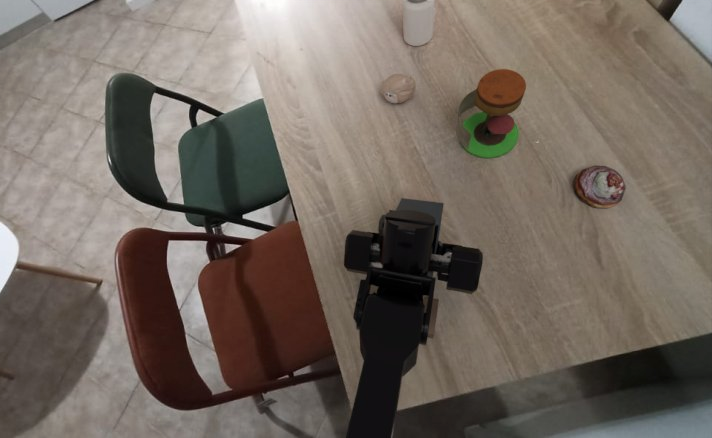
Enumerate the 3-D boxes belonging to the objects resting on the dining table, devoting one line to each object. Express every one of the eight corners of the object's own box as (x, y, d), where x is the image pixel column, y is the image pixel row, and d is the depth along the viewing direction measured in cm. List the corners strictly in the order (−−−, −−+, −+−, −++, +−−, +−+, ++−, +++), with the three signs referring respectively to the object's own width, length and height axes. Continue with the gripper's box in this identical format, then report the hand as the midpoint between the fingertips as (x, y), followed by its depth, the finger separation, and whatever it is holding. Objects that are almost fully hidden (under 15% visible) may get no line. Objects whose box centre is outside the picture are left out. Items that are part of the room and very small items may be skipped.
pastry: (621, 212, 74) (635, 200, 70) (570, 205, 77) (579, 193, 73) (624, 171, 77) (637, 157, 72) (574, 166, 80) (583, 151, 75)
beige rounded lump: (392, 114, 95) (391, 90, 88) (377, 95, 98) (374, 70, 91) (420, 98, 94) (420, 73, 87) (403, 80, 97) (403, 54, 90)
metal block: (432, 338, 75) (433, 334, 72) (374, 325, 79) (372, 321, 75) (437, 304, 77) (438, 299, 74) (380, 293, 81) (378, 287, 77)
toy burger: (518, 104, 87) (537, 50, 74) (523, 159, 83) (544, 112, 70) (454, 108, 91) (461, 57, 78) (455, 161, 87) (463, 116, 73)
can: (400, 46, 101) (399, 3, 91) (407, 24, 103) (407, -20, 93) (429, 48, 99) (431, 5, 88) (436, 26, 101) (439, -19, 90)
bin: (430, 292, 75) (434, 263, 63) (388, 284, 78) (385, 255, 65) (441, 219, 80) (447, 179, 68) (401, 214, 83) (400, 175, 71)
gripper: (493, 237, 51) (487, 199, 65) (337, 215, 58) (361, 185, 72) (477, 318, 55) (474, 267, 69) (332, 289, 62) (356, 247, 76)
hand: (415, 239), depth 71 cm, fingers closed on bin, 7 cm apart
